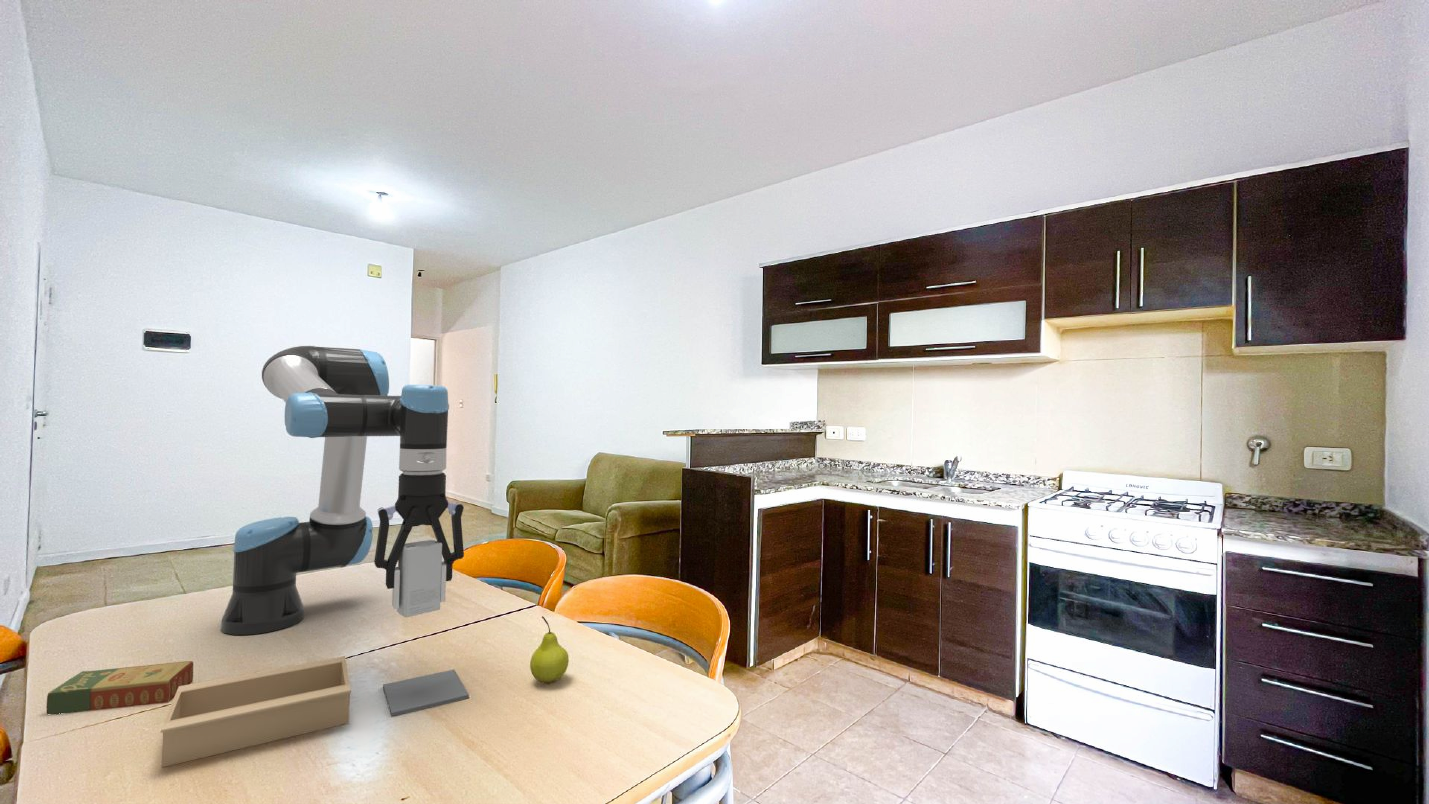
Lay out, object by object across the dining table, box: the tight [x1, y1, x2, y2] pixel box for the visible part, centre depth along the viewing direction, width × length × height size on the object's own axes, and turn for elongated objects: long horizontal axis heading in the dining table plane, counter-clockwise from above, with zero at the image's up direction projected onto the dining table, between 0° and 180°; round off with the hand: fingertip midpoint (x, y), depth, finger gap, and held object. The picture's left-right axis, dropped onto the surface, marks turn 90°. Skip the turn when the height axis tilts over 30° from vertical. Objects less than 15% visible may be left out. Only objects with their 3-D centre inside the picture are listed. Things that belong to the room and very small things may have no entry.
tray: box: [160, 655, 352, 768], centre depth 94 cm, size 15×22×6 cm
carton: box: [46, 660, 194, 715], centre depth 102 cm, size 8×16×4 cm, turn 109°
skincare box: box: [396, 539, 443, 618], centre depth 106 cm, size 6×4×12 cm
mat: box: [382, 669, 470, 718], centre depth 106 cm, size 12×12×1 cm
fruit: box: [529, 615, 570, 685], centre depth 112 cm, size 7×7×12 cm
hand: (418, 602), depth 106 cm, fingers closed on skincare box, 7 cm apart
